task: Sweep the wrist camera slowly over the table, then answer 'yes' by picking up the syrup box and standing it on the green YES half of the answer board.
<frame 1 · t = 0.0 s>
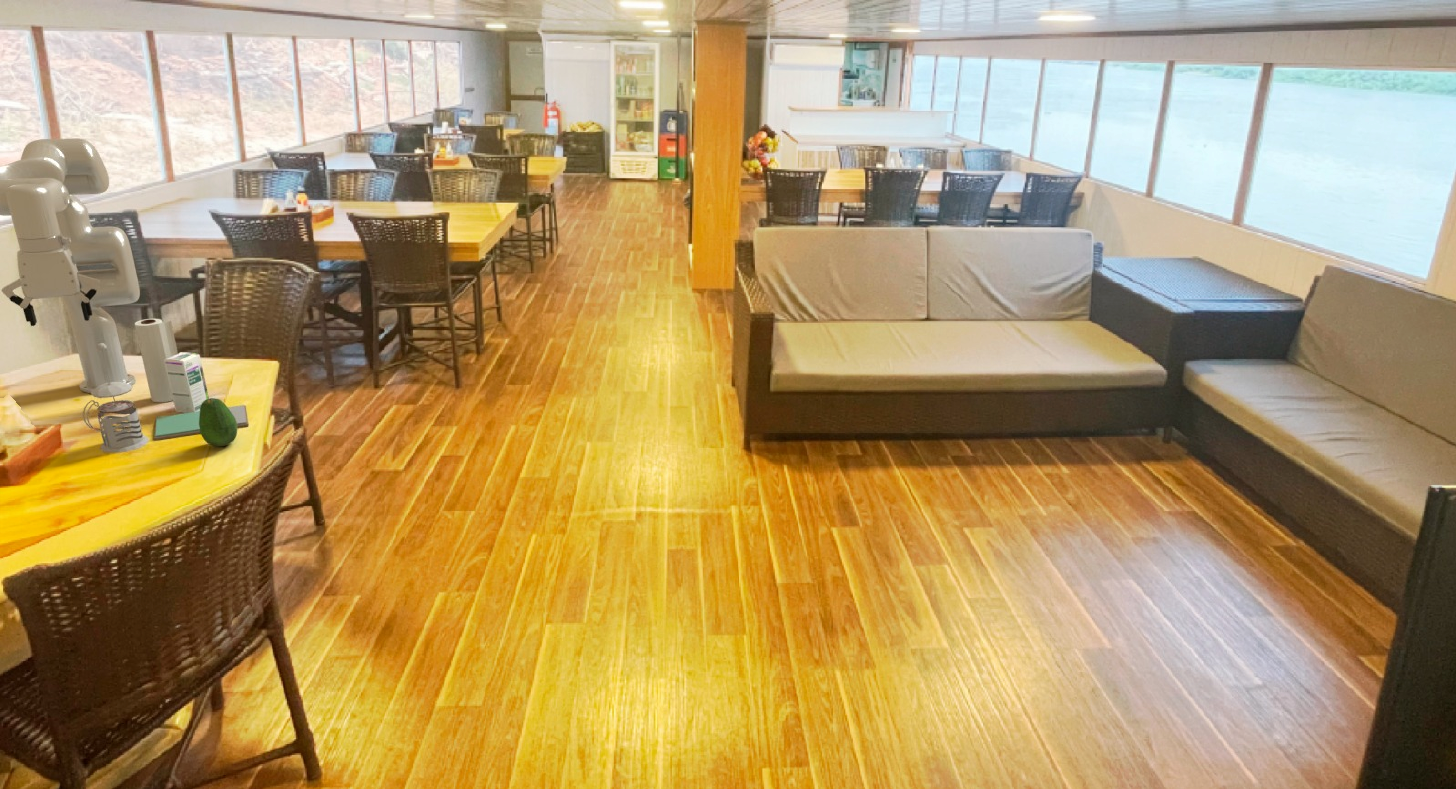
hand: (61, 321, 198), 31 cm above the table, fingers open, 9 cm apart
syrup box: (193, 409, 233), on the table
paper towel roll: (166, 399, 238), on the table
answer board: (202, 423, 225), on the table
french press: (121, 445, 212), on the table
avocado: (222, 446, 214), on the table
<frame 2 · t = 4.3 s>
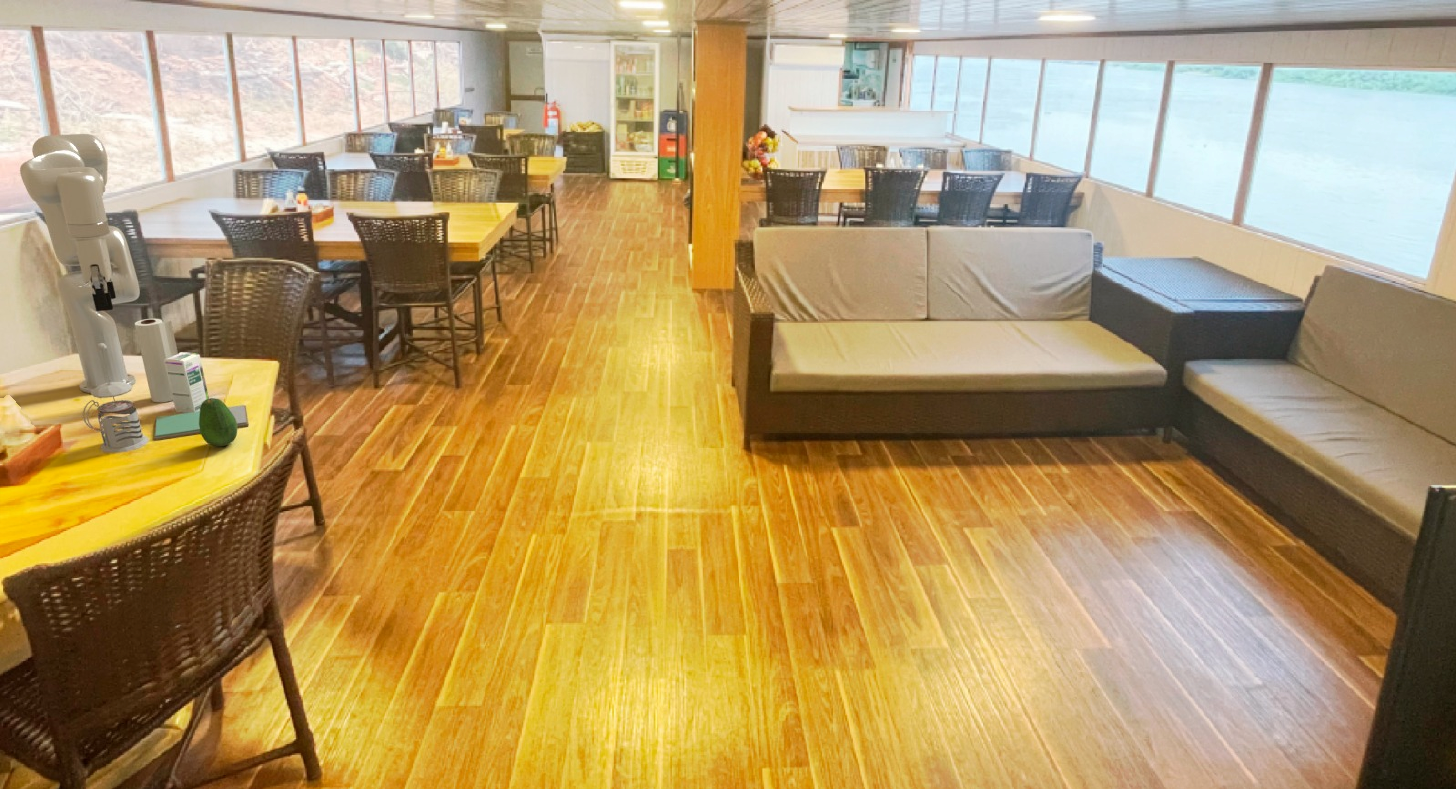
hand: (106, 304, 206), 32 cm above the table, fingers open, 9 cm apart
nothing on the table moved.
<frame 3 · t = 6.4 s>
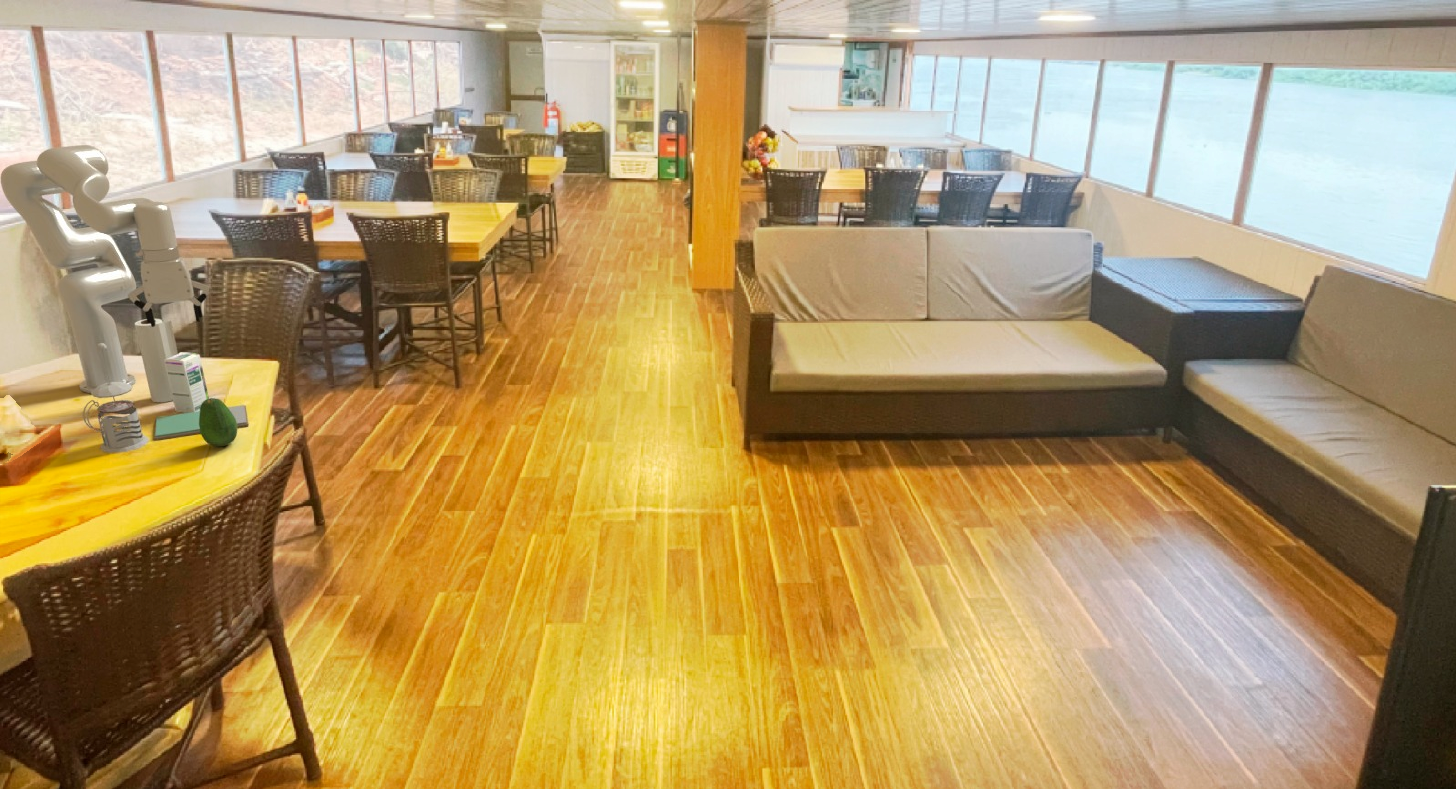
hand: (176, 322, 224), 23 cm above the table, fingers open, 9 cm apart
nothing on the table moved.
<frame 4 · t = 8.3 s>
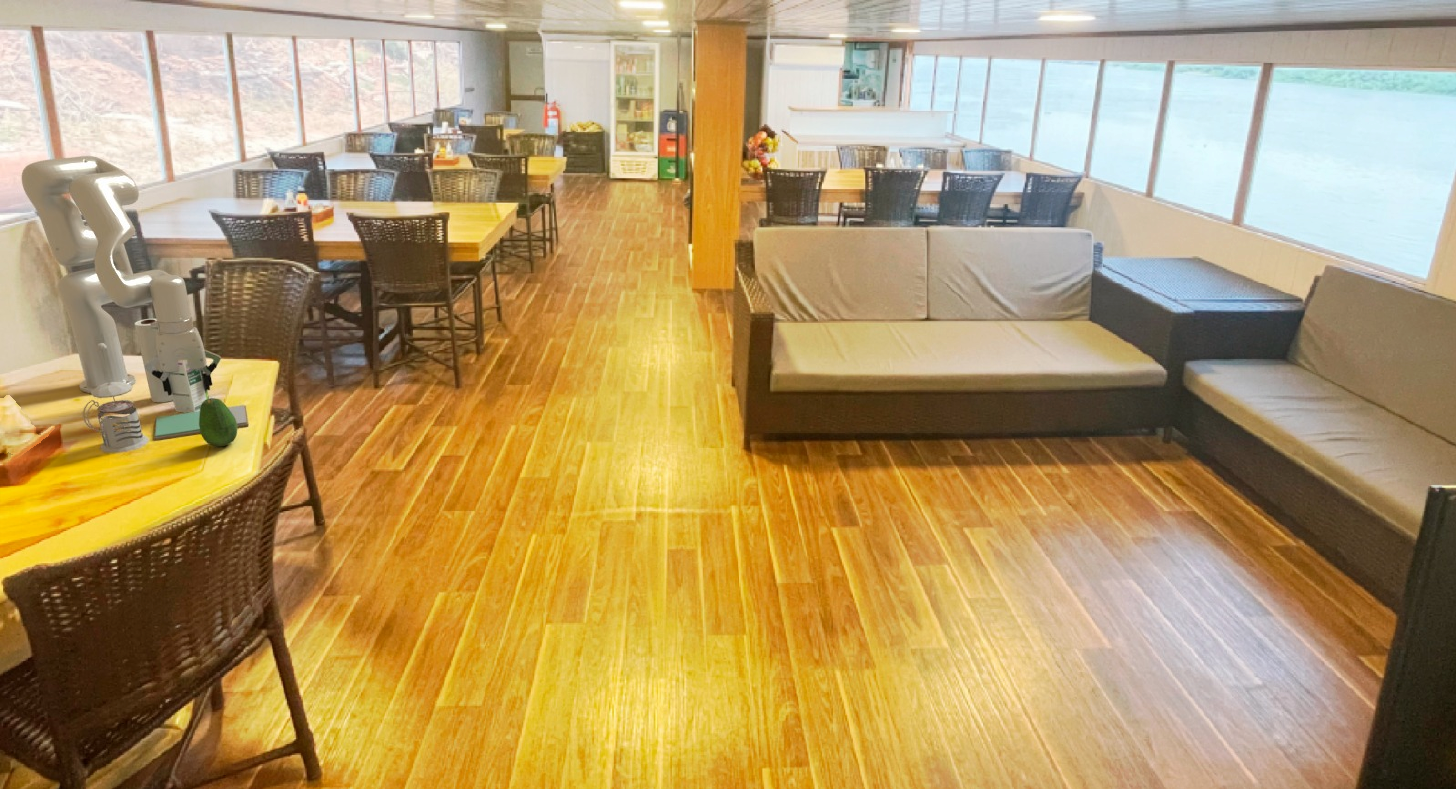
hand: (189, 390, 231), 5 cm above the table, fingers closed on syrup box, 8 cm apart
syrup box: (193, 409, 233), on the table, touching gripper
everything else where it was.
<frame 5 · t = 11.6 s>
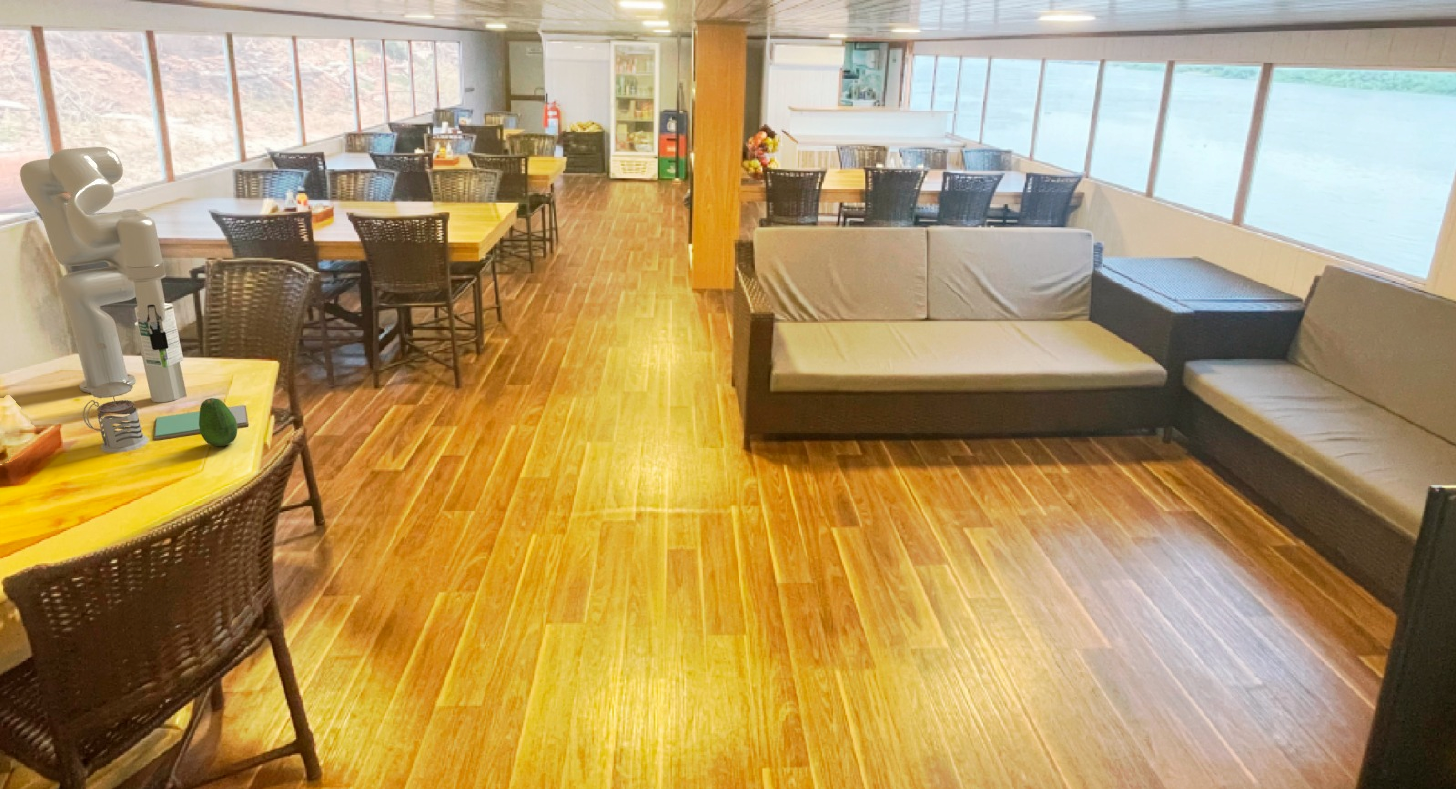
hand: (161, 343, 215), 22 cm above the table, fingers closed on syrup box, 8 cm apart
syrup box: (165, 363, 217), point 16 cm above the table, touching gripper
everything else where it was.
when the fingers open (7 cm above the table, at t = 14.8 s): syrup box drops 1 cm, resting on answer board.
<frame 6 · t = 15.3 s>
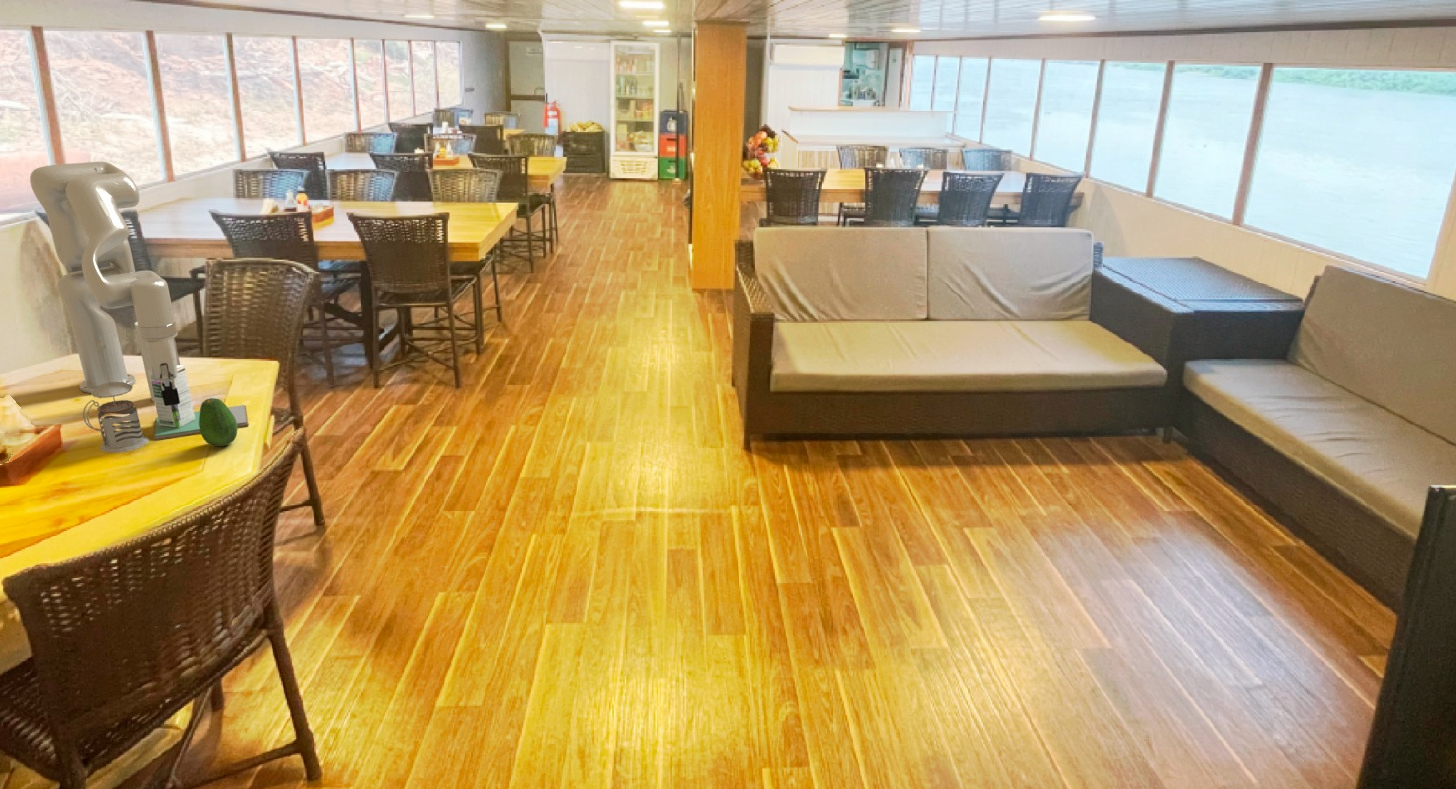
hand: (172, 397, 220), 8 cm above the table, fingers open, 9 cm apart
syrup box: (178, 423, 223), point 1 cm above the table, touching answer board
everything else where it was.
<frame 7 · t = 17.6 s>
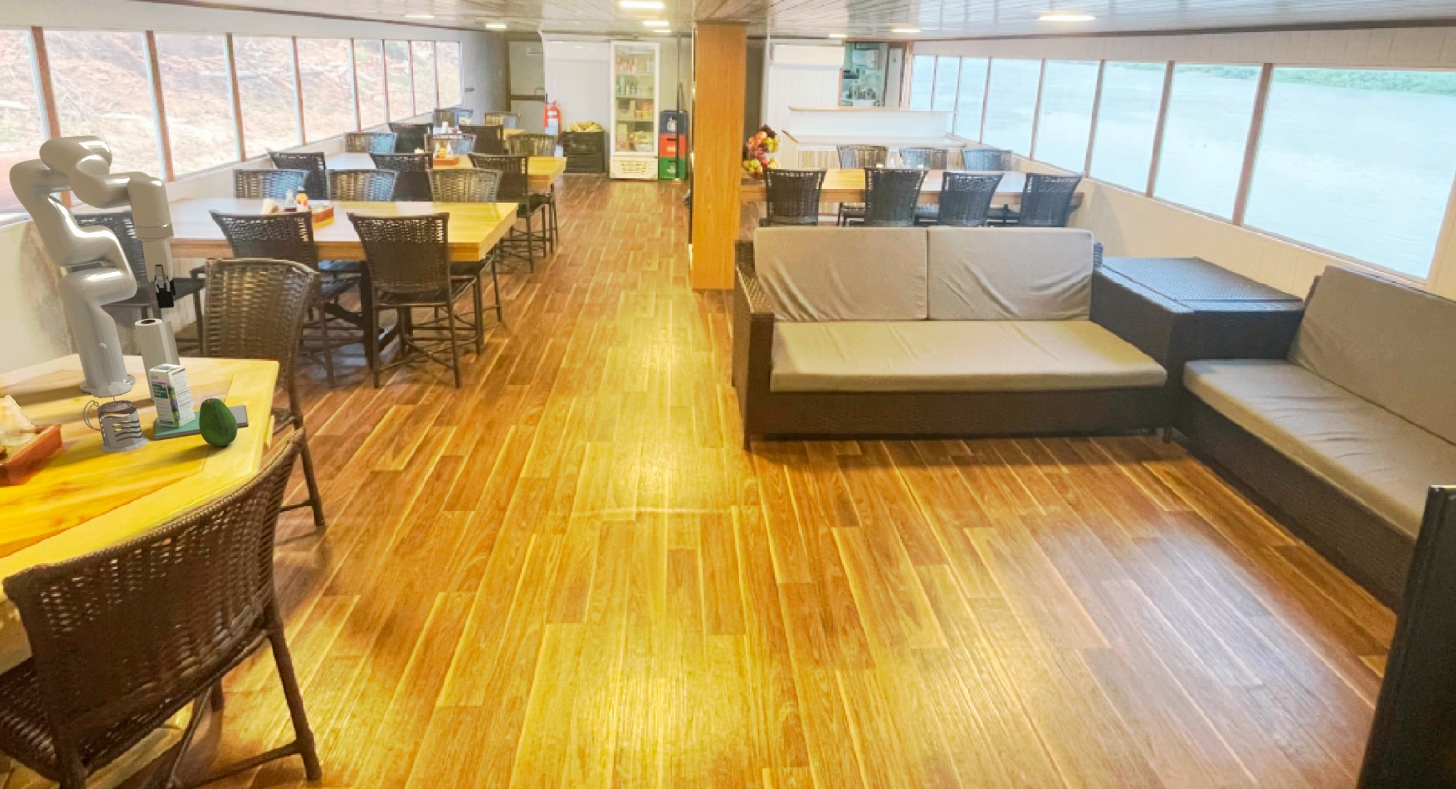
hand: (167, 301, 218), 30 cm above the table, fingers open, 9 cm apart
nothing on the table moved.
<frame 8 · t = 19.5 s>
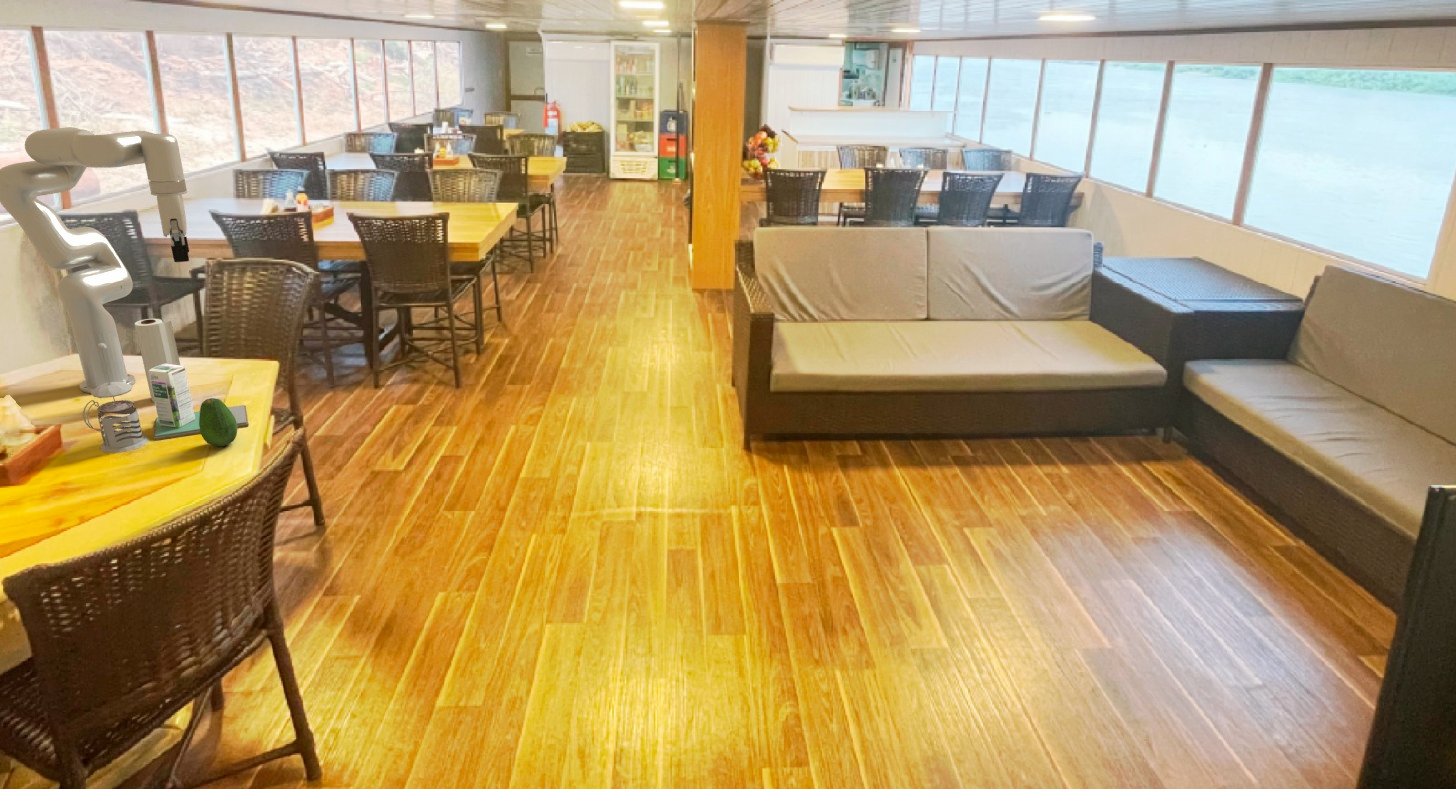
hand: (182, 257, 224), 38 cm above the table, fingers open, 9 cm apart
nothing on the table moved.
at the end: syrup box inside the target area (0.4 cm from its centre), point 0.8 cm above the table; syrup box tilted 0°; the gripper is holding nothing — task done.
